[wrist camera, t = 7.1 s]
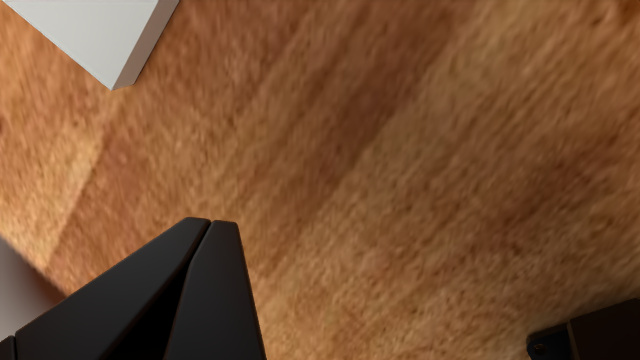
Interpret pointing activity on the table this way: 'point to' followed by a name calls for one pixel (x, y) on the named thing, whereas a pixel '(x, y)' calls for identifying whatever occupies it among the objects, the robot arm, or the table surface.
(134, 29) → the grey base board
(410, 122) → the table surface
